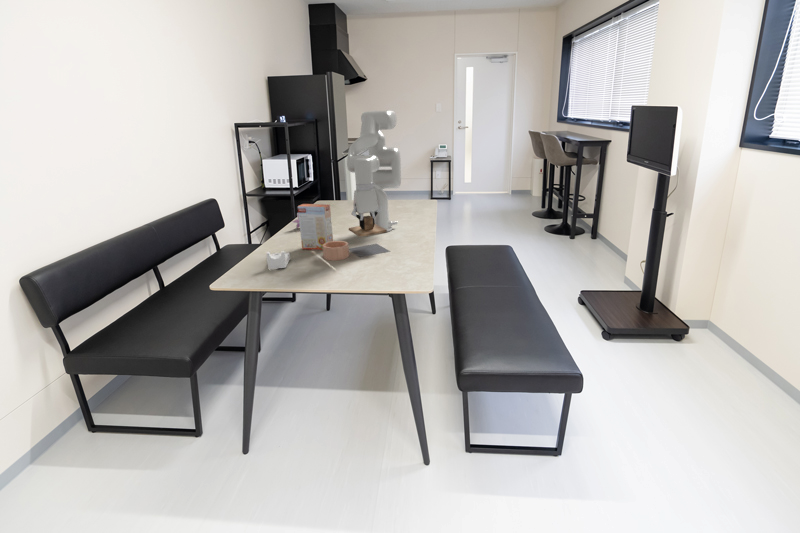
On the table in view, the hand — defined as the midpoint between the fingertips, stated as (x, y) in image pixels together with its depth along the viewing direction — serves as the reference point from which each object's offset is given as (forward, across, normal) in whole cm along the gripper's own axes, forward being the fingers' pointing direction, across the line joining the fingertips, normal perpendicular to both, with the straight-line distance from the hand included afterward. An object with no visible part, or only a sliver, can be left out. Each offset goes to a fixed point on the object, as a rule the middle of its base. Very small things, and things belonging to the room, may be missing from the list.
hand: (367, 227), depth 210 cm
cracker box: (+12, +18, -17) cm, 28 cm away
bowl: (+11, +16, +1) cm, 19 cm away
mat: (+11, 0, +1) cm, 11 cm away
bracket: (+11, +40, -4) cm, 42 cm away
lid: (+2, 0, 0) cm, 2 cm away
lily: (+13, +12, -58) cm, 61 cm away
